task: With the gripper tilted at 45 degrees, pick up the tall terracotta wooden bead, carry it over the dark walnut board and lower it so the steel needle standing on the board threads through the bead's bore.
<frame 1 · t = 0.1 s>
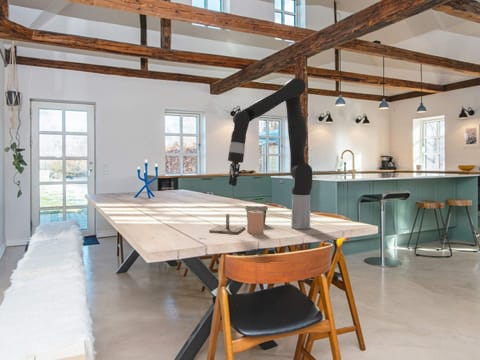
hand: (232, 185, 171), 22 cm above the table, tool pointing down, fingers open, 8 cm apart
bead: (255, 232, 167), on the table
needle board: (227, 230, 171), on the table
food container: (255, 225, 187), on the table
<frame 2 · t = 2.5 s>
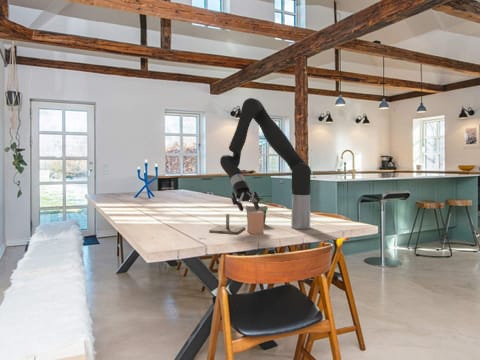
hand: (250, 209, 171), 10 cm above the table, tool tilted 45°, fingers open, 8 cm apart
nothing on the table moved.
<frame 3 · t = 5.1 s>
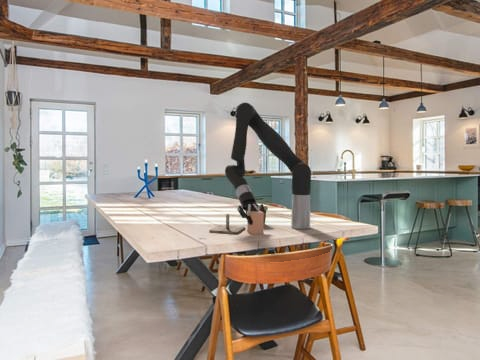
hand: (257, 223, 165), 5 cm above the table, tool tilted 45°, fingers closed on bead, 5 cm apart
bead: (255, 232, 167), on the table, touching gripper
everything else where it was.
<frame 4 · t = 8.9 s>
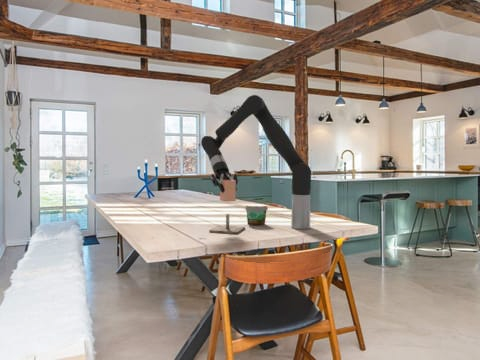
hand: (229, 191, 168), 19 cm above the table, tool tilted 45°, fingers closed on bead, 5 cm apart
bead: (227, 200, 170), point 15 cm above the table, touching gripper
everything else where it was.
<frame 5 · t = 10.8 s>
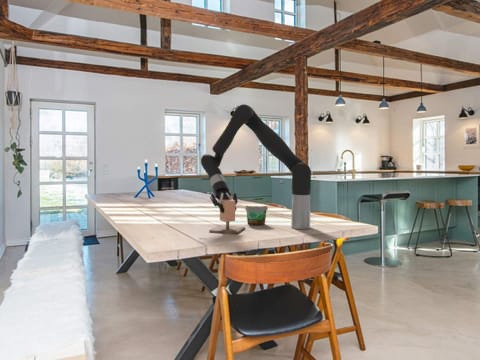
hand: (229, 211, 169), 10 cm above the table, tool tilted 45°, fingers closed on bead, 5 cm apart
bead: (227, 220, 171), point 5 cm above the table, touching gripper
everything else where it was.
when the fingers open (7 cm above the table, at t = 12.6 s): bead stays where it is, resting on needle board.
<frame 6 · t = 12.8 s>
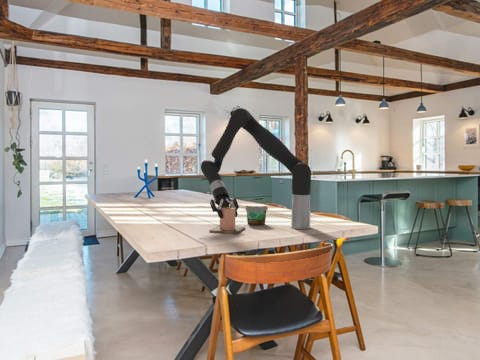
hand: (229, 216, 169), 7 cm above the table, tool tilted 45°, fingers open, 7 cm apart
bead: (227, 228, 171), point 1 cm above the table, touching needle board
everything else where it was.
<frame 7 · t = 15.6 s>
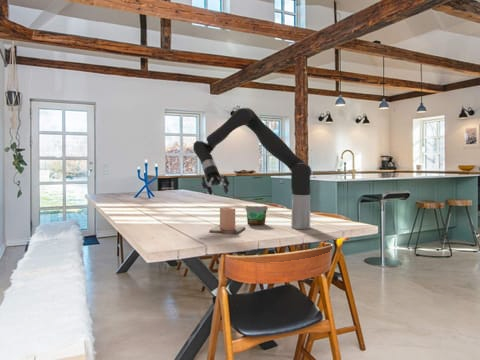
hand: (219, 193, 181), 17 cm above the table, tool tilted 45°, fingers open, 8 cm apart
nothing on the table moved.
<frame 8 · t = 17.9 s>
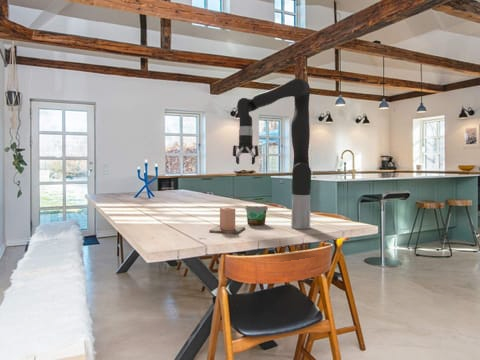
hand: (245, 164, 195), 32 cm above the table, tool pointing down, fingers open, 8 cm apart
nothing on the table moved.
at the end: bead 0.1 cm off-centre on the needle board, point 1.0 cm above the needle board's base; bead tilted 0°; the gripper is holding nothing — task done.
